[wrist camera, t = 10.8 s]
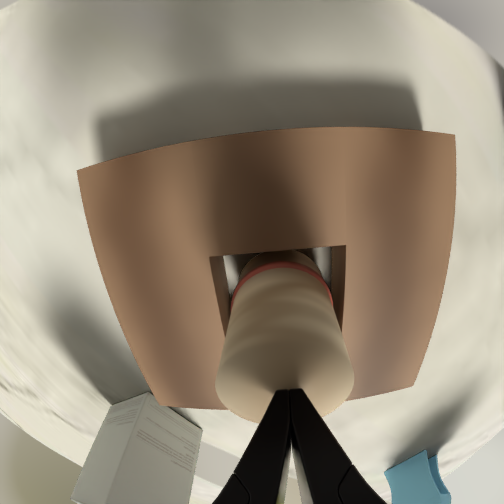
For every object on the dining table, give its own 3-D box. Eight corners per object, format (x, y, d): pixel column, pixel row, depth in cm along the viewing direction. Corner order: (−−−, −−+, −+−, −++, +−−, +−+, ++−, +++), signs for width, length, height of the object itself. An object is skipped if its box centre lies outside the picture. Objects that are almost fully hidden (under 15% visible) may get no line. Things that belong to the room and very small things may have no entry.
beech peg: (322, 237, 14) (368, 329, 7) (320, 312, 16) (346, 420, 9) (233, 243, 15) (198, 339, 7) (242, 316, 17) (224, 426, 9)
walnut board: (424, 134, 12) (454, 134, 9) (399, 359, 18) (413, 385, 15) (107, 164, 13) (76, 170, 11) (169, 377, 19) (159, 405, 16)
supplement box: (109, 404, 22) (66, 497, 10) (149, 389, 20) (102, 512, 8) (159, 440, 24) (133, 529, 12) (206, 431, 22) (185, 541, 10)
